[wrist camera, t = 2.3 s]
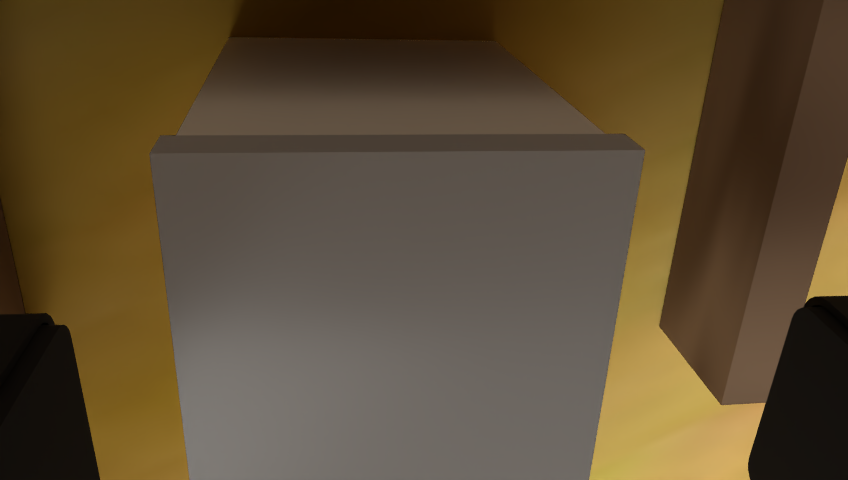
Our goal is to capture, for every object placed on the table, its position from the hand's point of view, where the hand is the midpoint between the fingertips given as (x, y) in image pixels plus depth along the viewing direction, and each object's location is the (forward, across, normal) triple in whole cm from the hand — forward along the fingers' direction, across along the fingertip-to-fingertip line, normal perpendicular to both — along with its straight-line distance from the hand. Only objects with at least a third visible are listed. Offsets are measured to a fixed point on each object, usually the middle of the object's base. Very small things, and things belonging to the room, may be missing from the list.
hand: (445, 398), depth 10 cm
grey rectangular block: (+6, +1, +1) cm, 7 cm away
